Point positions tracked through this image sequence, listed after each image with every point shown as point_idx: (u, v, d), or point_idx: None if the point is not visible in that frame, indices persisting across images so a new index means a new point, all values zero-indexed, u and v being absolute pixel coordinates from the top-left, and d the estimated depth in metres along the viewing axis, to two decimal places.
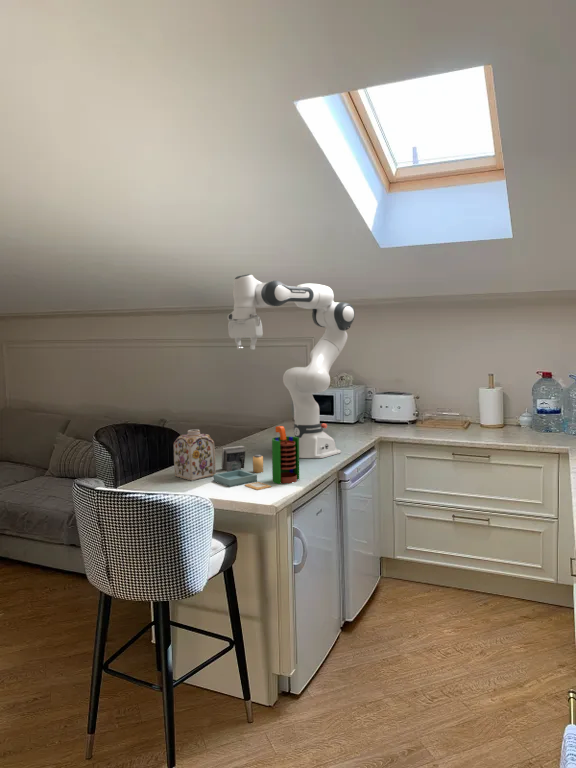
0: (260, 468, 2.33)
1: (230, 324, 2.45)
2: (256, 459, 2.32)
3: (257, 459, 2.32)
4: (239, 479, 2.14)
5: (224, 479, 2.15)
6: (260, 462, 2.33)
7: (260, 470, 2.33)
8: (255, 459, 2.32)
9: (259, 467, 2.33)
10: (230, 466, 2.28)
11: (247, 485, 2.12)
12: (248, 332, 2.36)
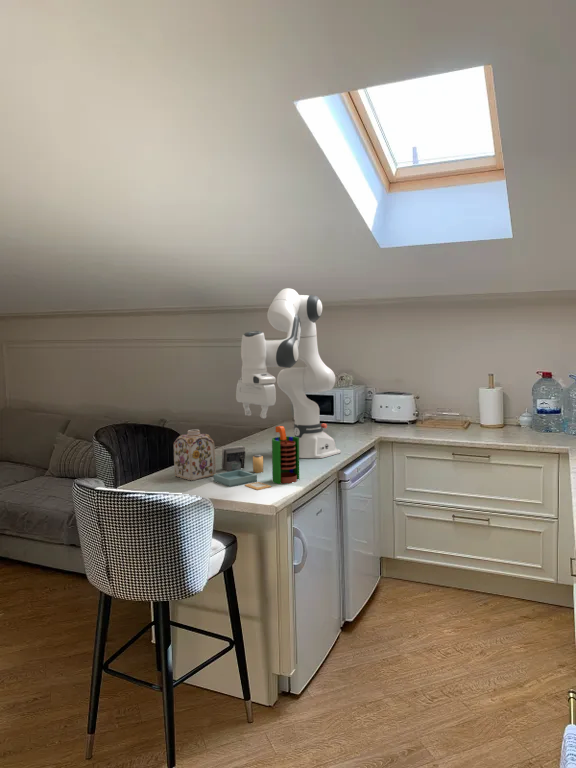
0: (260, 468, 2.33)
1: None
2: (256, 459, 2.32)
3: (257, 459, 2.32)
4: (239, 479, 2.14)
5: (224, 479, 2.15)
6: (260, 462, 2.33)
7: (260, 470, 2.33)
8: (255, 459, 2.32)
9: (259, 467, 2.33)
10: (230, 466, 2.28)
11: (247, 485, 2.12)
12: None
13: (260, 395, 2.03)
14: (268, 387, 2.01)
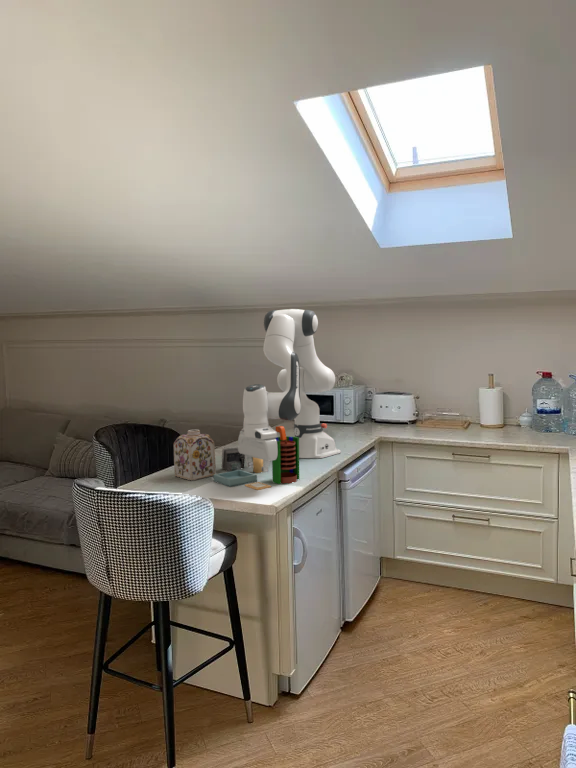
0: (260, 468, 2.33)
1: None
2: (256, 459, 2.32)
3: (257, 459, 2.32)
4: (239, 479, 2.14)
5: (224, 479, 2.15)
6: (260, 462, 2.33)
7: (260, 470, 2.33)
8: (255, 459, 2.32)
9: (259, 467, 2.33)
10: (230, 466, 2.28)
11: (247, 485, 2.12)
12: None
13: (262, 450, 2.05)
14: (270, 443, 2.03)
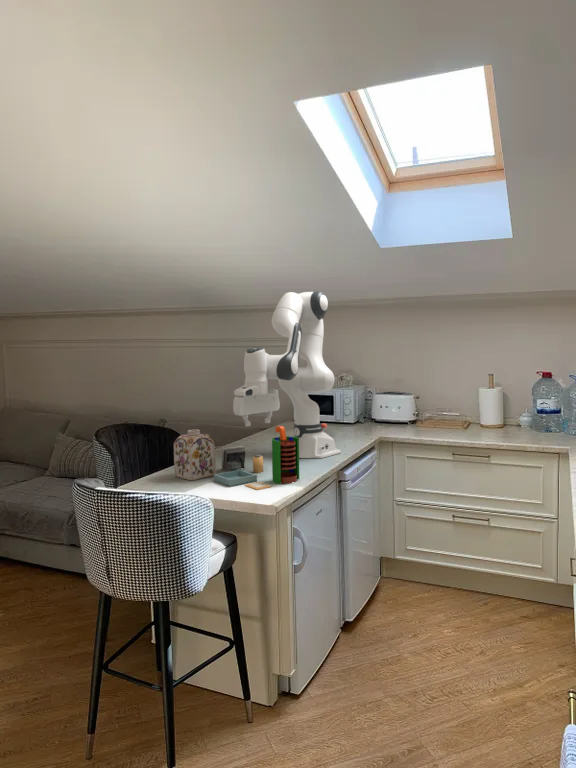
0: (260, 468, 2.33)
1: (243, 400, 2.25)
2: (256, 459, 2.32)
3: (257, 459, 2.32)
4: (239, 479, 2.14)
5: (224, 479, 2.15)
6: (260, 462, 2.33)
7: (260, 470, 2.33)
8: (255, 459, 2.32)
9: (259, 467, 2.33)
10: (230, 466, 2.28)
11: (247, 485, 2.12)
12: (270, 406, 2.33)
13: None
14: (236, 399, 2.26)
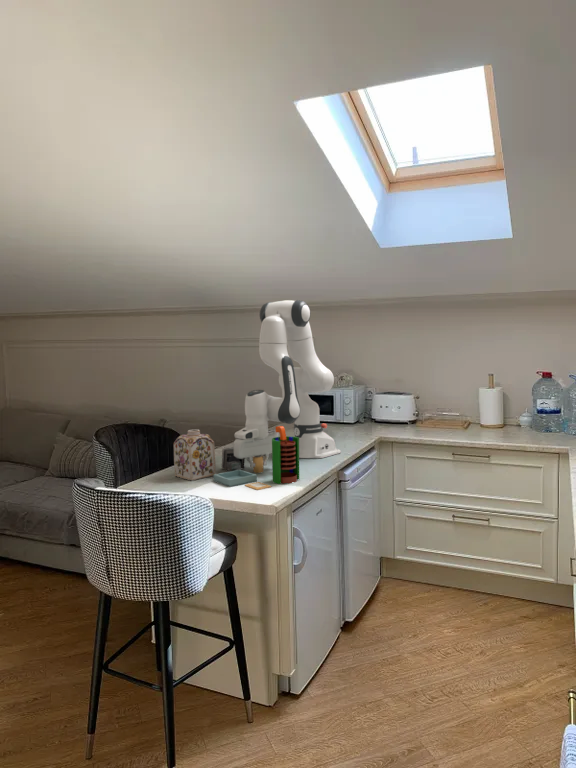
0: (260, 468, 2.33)
1: (243, 443, 2.27)
2: (256, 459, 2.32)
3: (257, 459, 2.32)
4: (239, 479, 2.14)
5: (224, 479, 2.15)
6: (260, 462, 2.33)
7: (260, 470, 2.33)
8: (255, 459, 2.32)
9: (259, 467, 2.33)
10: (230, 466, 2.28)
11: (247, 485, 2.12)
12: (270, 448, 2.35)
13: None
14: (236, 442, 2.28)
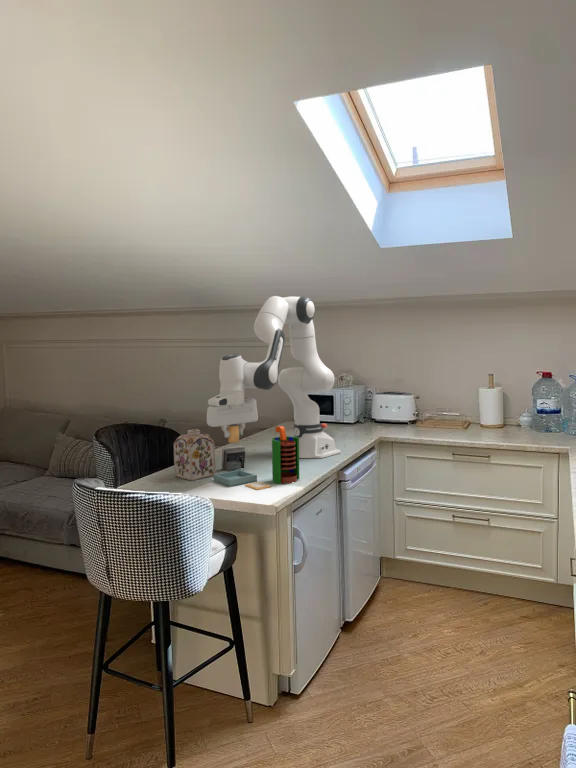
0: (235, 438, 2.17)
1: (217, 411, 2.12)
2: (231, 428, 2.17)
3: (232, 428, 2.17)
4: (239, 479, 2.14)
5: (224, 479, 2.15)
6: (236, 431, 2.17)
7: (236, 440, 2.17)
8: (230, 428, 2.17)
9: (234, 436, 2.17)
10: (230, 466, 2.28)
11: (247, 485, 2.12)
12: (247, 417, 2.20)
13: None
14: (209, 409, 2.13)
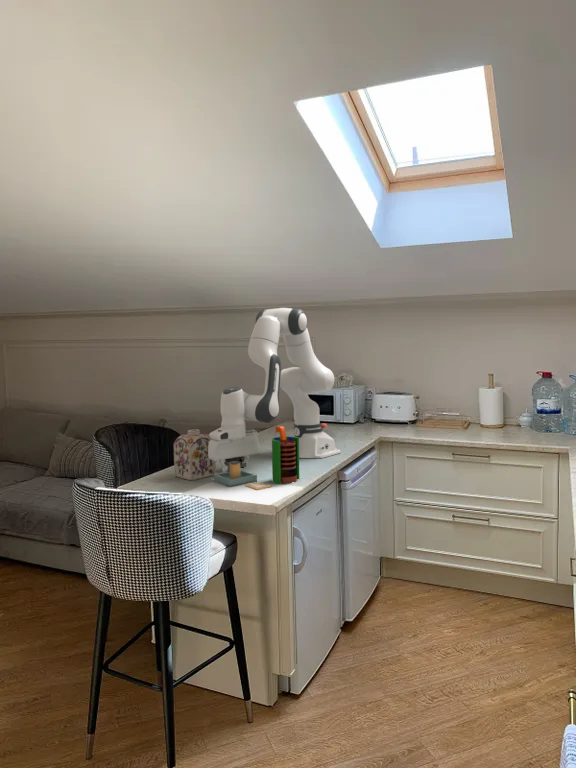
0: (237, 476, 2.18)
1: (218, 445, 2.13)
2: (233, 466, 2.18)
3: (234, 466, 2.18)
4: (239, 479, 2.14)
5: (224, 479, 2.15)
6: (237, 469, 2.18)
7: None
8: (232, 466, 2.18)
9: (236, 475, 2.18)
10: None
11: (247, 485, 2.12)
12: (248, 449, 2.21)
13: None
14: (210, 443, 2.14)
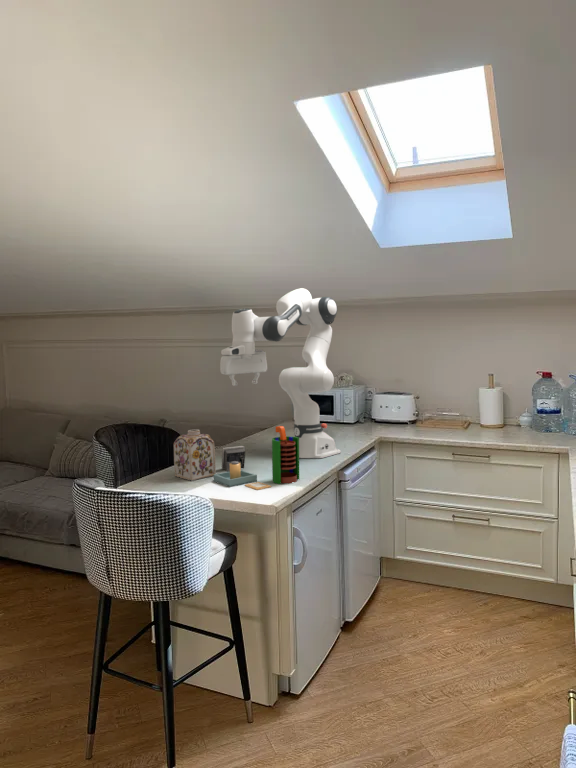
0: (237, 476, 2.18)
1: (230, 359, 2.29)
2: (233, 466, 2.18)
3: (234, 466, 2.18)
4: (239, 479, 2.14)
5: (224, 479, 2.15)
6: (237, 469, 2.18)
7: None
8: (232, 466, 2.18)
9: (236, 475, 2.18)
10: None
11: (247, 485, 2.12)
12: (257, 367, 2.37)
13: None
14: (222, 358, 2.30)
